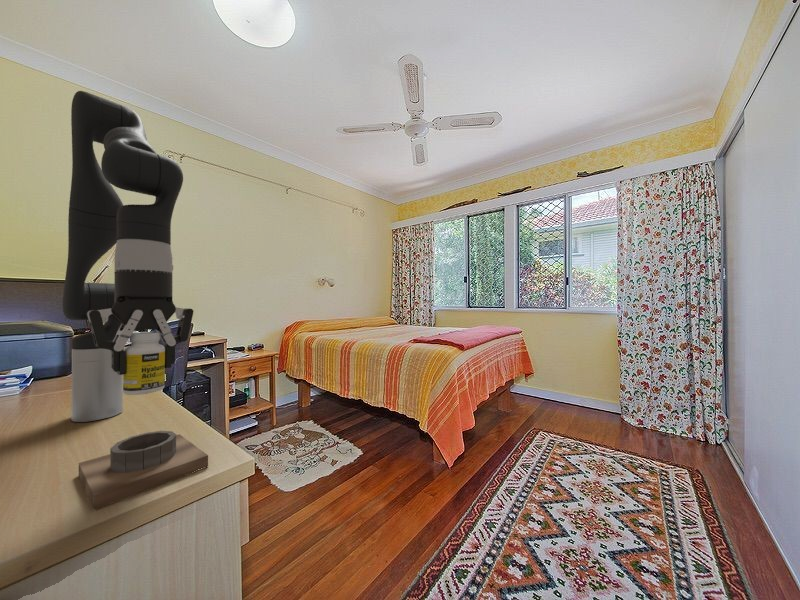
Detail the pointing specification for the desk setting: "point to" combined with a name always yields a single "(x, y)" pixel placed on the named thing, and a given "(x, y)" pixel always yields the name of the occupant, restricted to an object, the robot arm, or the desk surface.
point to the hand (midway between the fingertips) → (144, 370)
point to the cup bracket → (139, 466)
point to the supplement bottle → (144, 364)
